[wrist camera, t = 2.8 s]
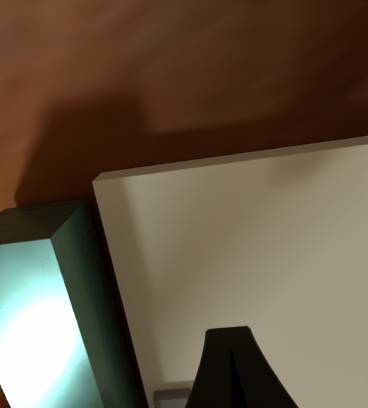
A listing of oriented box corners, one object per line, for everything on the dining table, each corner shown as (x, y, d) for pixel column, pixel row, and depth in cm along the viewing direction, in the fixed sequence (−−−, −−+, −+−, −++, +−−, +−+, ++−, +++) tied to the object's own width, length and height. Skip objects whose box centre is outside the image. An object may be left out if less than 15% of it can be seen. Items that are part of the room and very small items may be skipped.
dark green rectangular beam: (148, 428, 20) (136, 520, 16) (86, 433, 21) (59, 525, 16) (87, 197, 15) (46, 242, 11) (6, 208, 15) (-66, 256, 11)
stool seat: (425, 395, 19) (451, 431, 17) (160, 416, 20) (156, 452, 18) (466, 122, 14) (512, 128, 12) (101, 172, 15) (87, 186, 13)
